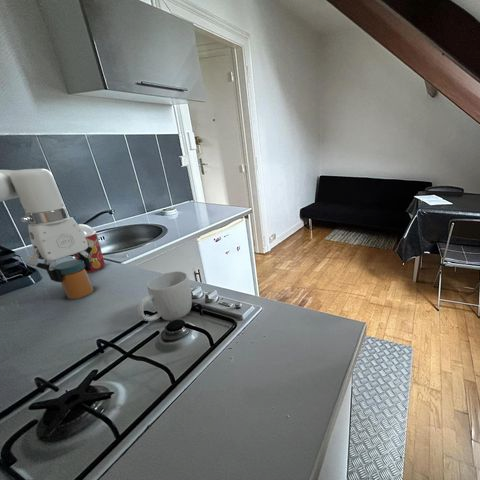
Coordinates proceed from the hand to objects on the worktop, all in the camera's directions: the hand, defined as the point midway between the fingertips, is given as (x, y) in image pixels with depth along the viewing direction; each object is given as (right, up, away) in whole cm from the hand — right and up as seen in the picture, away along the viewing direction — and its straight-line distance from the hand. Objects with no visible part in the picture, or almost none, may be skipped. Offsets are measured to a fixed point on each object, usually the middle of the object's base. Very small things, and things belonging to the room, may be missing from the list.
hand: (73, 274), depth 76 cm
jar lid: (0, +3, -1) cm, 3 cm away
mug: (+34, -10, -10) cm, 37 cm away
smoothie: (-10, -1, +19) cm, 21 cm away
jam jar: (0, -6, +2) cm, 7 cm away
